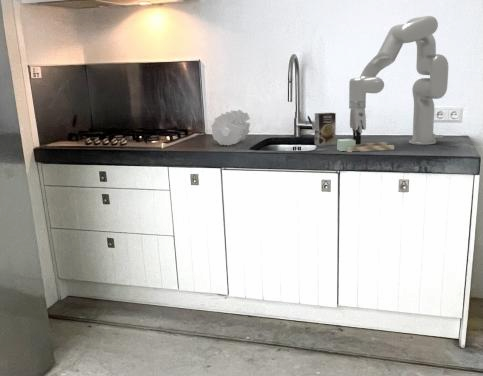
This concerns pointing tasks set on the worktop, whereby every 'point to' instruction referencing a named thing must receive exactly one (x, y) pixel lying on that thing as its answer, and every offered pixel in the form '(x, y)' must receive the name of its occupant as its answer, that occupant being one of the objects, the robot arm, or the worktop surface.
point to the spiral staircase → (230, 127)
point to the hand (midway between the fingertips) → (356, 144)
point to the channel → (371, 147)
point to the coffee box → (325, 128)
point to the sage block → (345, 144)
